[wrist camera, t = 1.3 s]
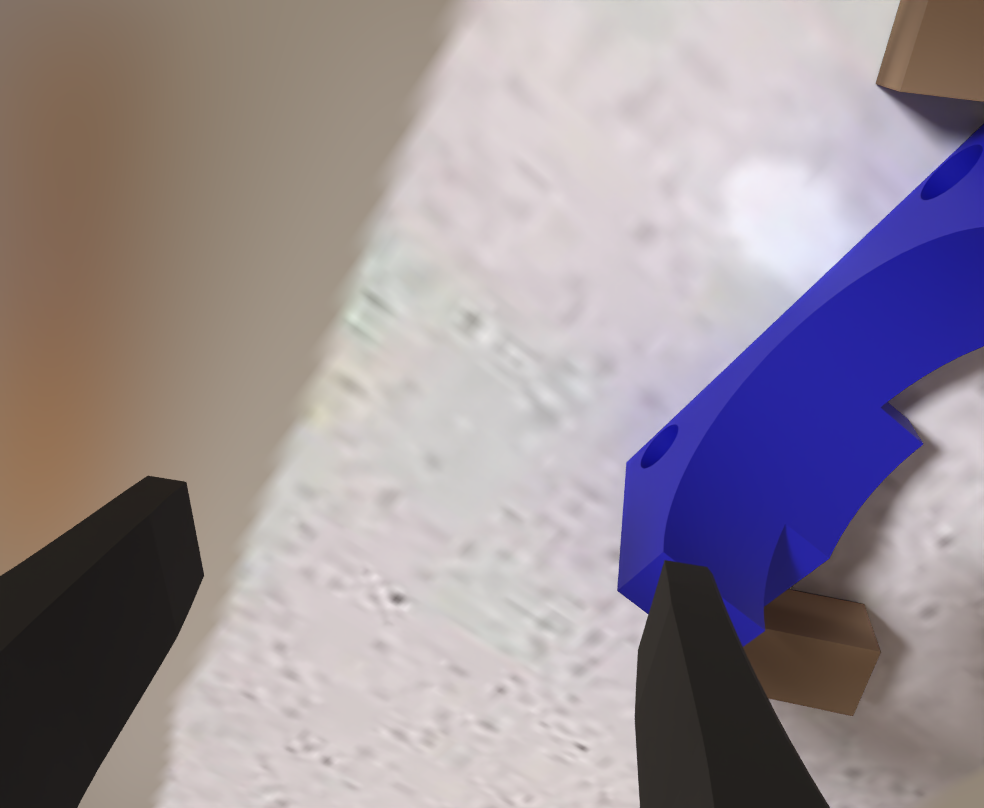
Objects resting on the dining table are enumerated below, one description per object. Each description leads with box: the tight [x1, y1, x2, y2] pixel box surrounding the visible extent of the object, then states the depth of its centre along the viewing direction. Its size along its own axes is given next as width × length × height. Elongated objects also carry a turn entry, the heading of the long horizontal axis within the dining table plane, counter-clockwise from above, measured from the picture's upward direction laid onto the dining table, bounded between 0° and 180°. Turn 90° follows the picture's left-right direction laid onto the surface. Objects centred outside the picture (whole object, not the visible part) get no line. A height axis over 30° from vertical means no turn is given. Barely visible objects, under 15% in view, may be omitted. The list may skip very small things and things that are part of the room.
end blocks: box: [743, 0, 984, 716], centre depth 20 cm, size 19×4×2 cm, turn 174°
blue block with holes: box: [617, 124, 984, 646], centre depth 18 cm, size 12×4×6 cm, turn 143°
